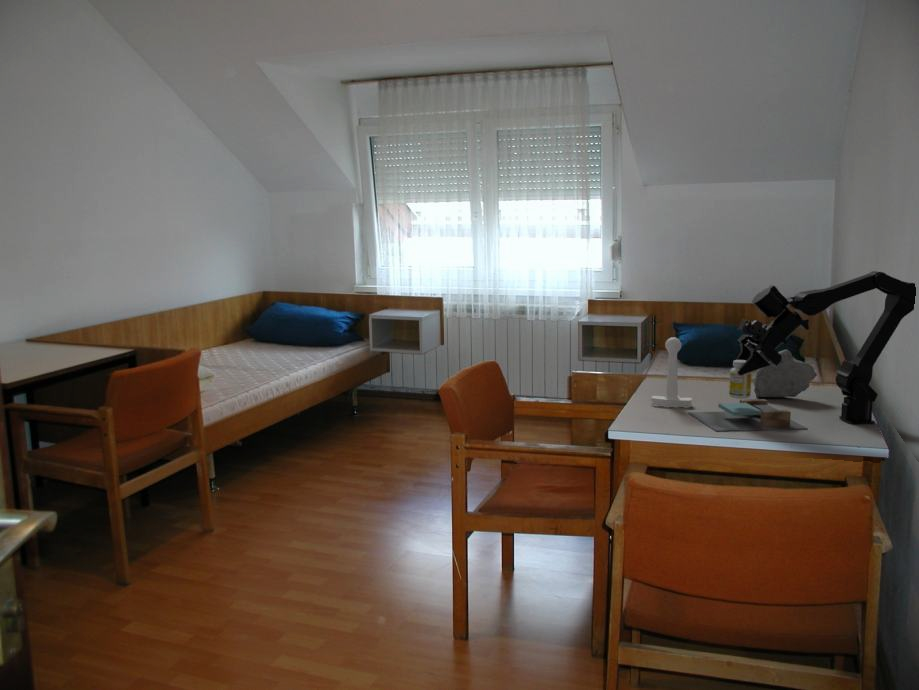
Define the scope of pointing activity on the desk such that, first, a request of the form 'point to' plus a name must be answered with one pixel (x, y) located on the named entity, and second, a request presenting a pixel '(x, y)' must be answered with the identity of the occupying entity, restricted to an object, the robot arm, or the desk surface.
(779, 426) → the dark grey flat mat
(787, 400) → the desk surface
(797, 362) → the fossil
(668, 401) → the joystick
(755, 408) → the trapdoor
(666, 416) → the desk surface
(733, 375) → the supplement bottle
